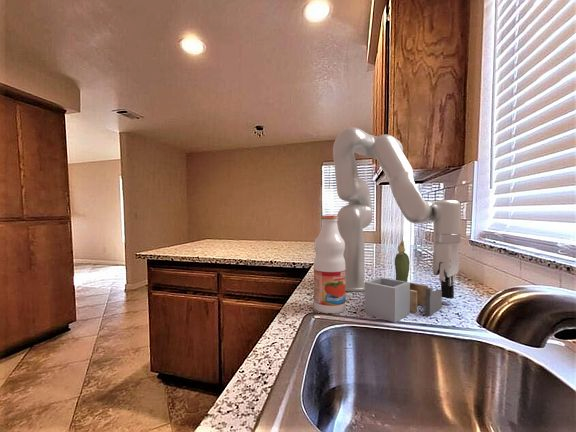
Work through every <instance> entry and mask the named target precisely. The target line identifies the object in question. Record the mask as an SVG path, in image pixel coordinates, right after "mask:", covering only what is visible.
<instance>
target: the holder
mask: <svg viewBox="0 0 576 432" xmlns="http://www.w3.org/2000/svg"><path fill="white" fill-rule="evenodd" d="M428 287H429V285H425V284H419V283H414V282H410V313H411V312H413V313H417V312H418V305H421V306H425V296H426V288H428Z"/></svg>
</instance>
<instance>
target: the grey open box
mask: <svg viewBox="0 0 576 432" xmlns="http://www.w3.org/2000/svg"><path fill="white" fill-rule="evenodd" d="M364 283H365V291H364V315H369V316H371V317H374V318H378V319H382V320H385V321H388V322H393V323H397V322H398V321H400V320H402V319H404V318H406V317H407V316H409V315H410V314H411V311H410V283H411V282H409V281H407V282H405V281H399V280H396V279H394V278H393V279H392V278H386V277H382V276H381V277H377V278H373V279H370V280H367V281H364Z"/></svg>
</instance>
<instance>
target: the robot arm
mask: <svg viewBox="0 0 576 432" xmlns="http://www.w3.org/2000/svg"><path fill="white" fill-rule="evenodd" d="M355 154H357V155H359V156H363V157H368V158H372V159H375V160H377V163H378V164H379V165H380V167H381V169H382V171H383V173H384V175H385V177H386V179H387V181H388V183H389V187H390V190H391V193H392V195H393V198H394V201H395V202H396V205H397V206H398V208H399V209H400V212H401V213H402V215H403V216H404V217H403V218H405V219H406V220H407V221H408V222H409V223H412V224H425V223H426V224H427V223H432V222H433V244H434V248H433V256H432V257H433V258H432V259H433V260H432V261H433V262H432V274H433V275H434V276H438V275H439V276H438V277H439V278H438V281H439V282H440V290H442V298H445V299H450V300H451V299H453V298H454V295H455V290H454V289H455V275H457V274H458V273H459V271H460V256H459V254H460V253H459V246H461V245H462V220H461V218H462V216H461V214H462V210H461V209H462V207H461V202H460V201H459V200H455V199H444V200H443V199H442V200H436V201H431V200H425V199H424V198H423V196H422V195H421V193H420V191H419V189H418V187H417V185H416V182H415V180H414V170H413V167H412V165H411V164H410V162H409V160H408V158H407V157H406V155H405V154H404V148H403V144H402V142H401V141H400V140H398V138H395V136H392V135H391V134H387V133H386V134H381V135H379V136H376V135H372V134H370V133H367V132H366V131H364V130H363V129H361V128H359V127H355V126H352V127H351V126H350V127H346V128H345V129H343V130H341V132H339V134H338V135H337V136H336V137H335V140H334V143H333V147H332V159H333V166H334V173H335V174H334V175H335V183H336V193H337V196H338V198H339V199H340V200H342V201H344V202H347V203H348V204H346V205H344V206H342V207H341V208H339V211H338V212H337V215H336V216H338V221H337V227H338V230H339V233H340V235H341V237H342V238H343V240H344V242H345V250H344V253H343V256H344V259H345V266H346V270H345V292H363V291H364V292H365V234H364V230H363V229H365V228H367V227H369V226H370V225H371V223H372V221H373V215H374V214H373V207H372V206H373V204H372V198H371V190H370V187H369V185H368V183H367V182H366V181H365V180H364V179H361V178H360V177H359V171H358V163H357V160H356V157H355Z"/></svg>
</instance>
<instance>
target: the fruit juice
mask: <svg viewBox="0 0 576 432" xmlns="http://www.w3.org/2000/svg"><path fill="white" fill-rule="evenodd" d="M320 218H321V222H322V223H321V228H320V231H319V234H318V235H317V237H316V238H315V240H314V245H313V247H314V252H315V256H314V259H313V307H314V309H315V311H317V312H318V313H323V314H328V313H332V314H331V315H333V314H339V313H343V312H345V309H346V291H345V270H346V266H345V259H344V256H343V253H344V250H345V242H344V240H343V238H342V237H341V235H340V233H339V230H338V226H337V221H338V216H337V215H331V214H328V215H326V214H325V215H321V217H320Z"/></svg>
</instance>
